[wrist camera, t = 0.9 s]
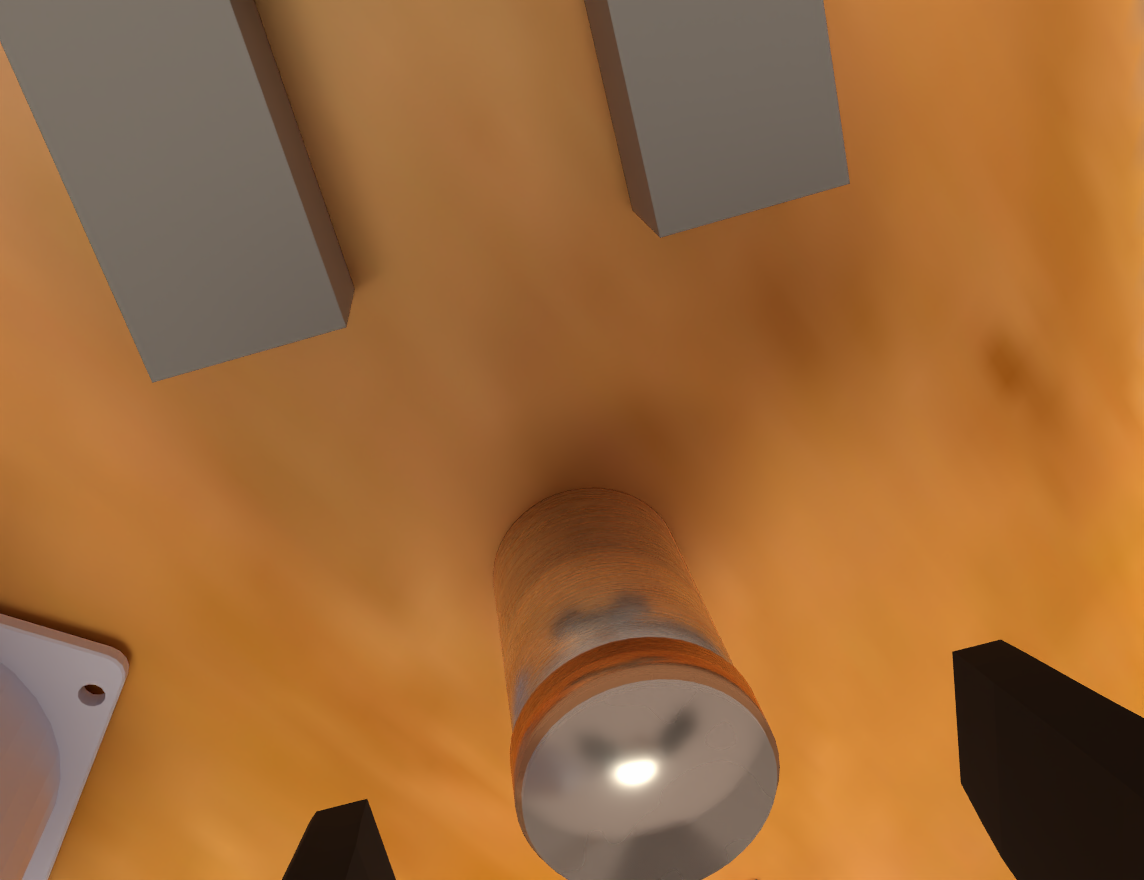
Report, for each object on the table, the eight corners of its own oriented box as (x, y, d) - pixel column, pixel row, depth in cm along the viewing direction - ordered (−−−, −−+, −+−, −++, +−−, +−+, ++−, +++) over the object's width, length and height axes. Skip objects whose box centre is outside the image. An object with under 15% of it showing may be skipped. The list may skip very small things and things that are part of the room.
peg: (629, 678, 24) (704, 925, 18) (457, 621, 23) (471, 863, 17) (716, 523, 23) (832, 728, 17) (539, 455, 22) (590, 645, 15)
